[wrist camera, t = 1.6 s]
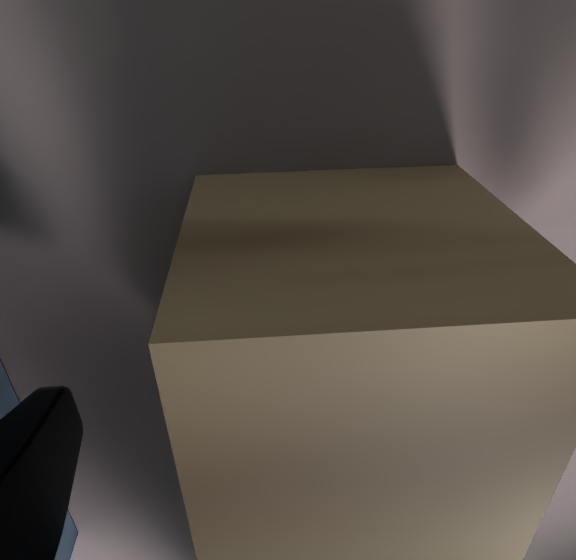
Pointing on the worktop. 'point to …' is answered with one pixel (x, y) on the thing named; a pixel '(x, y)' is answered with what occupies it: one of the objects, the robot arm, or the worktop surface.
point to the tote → (3, 401)
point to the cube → (364, 367)
